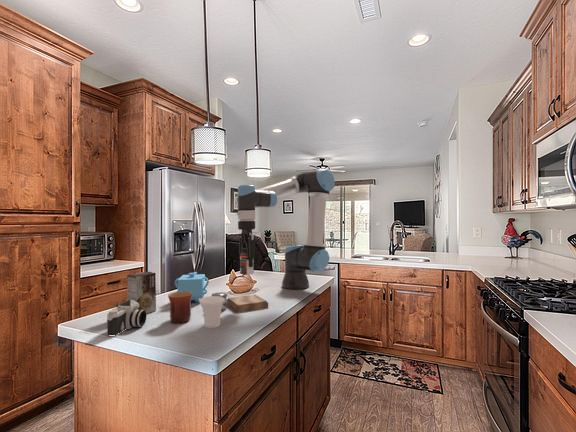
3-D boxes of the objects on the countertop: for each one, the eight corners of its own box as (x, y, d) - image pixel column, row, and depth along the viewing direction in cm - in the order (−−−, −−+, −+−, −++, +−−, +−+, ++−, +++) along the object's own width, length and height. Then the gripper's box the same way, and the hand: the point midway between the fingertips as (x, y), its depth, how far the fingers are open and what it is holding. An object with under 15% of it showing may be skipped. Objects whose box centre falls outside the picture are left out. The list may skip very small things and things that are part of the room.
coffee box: (146, 308, 134) (146, 271, 134) (156, 310, 131) (156, 272, 131) (126, 314, 126) (126, 274, 126) (136, 317, 123) (136, 276, 123)
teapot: (207, 303, 142) (207, 274, 142) (171, 304, 140) (171, 275, 140) (211, 293, 160) (211, 268, 160) (179, 294, 158) (179, 269, 158)
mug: (193, 323, 115) (193, 295, 115) (168, 326, 112) (168, 298, 112) (190, 314, 126) (190, 288, 126) (167, 316, 123) (167, 290, 123)
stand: (255, 300, 146) (255, 294, 146) (268, 308, 134) (268, 301, 134) (226, 304, 140) (226, 297, 140) (237, 313, 127) (237, 305, 127)
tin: (224, 306, 136) (224, 291, 136) (229, 310, 131) (229, 295, 131) (209, 309, 133) (209, 293, 133) (214, 313, 128) (213, 296, 128)
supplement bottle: (239, 275, 134) (238, 248, 134) (240, 272, 140) (240, 247, 140) (253, 275, 134) (252, 248, 134) (254, 272, 140) (254, 247, 140)
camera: (128, 338, 102) (127, 307, 102) (102, 337, 102) (102, 307, 102) (151, 321, 118) (151, 295, 118) (129, 321, 118) (129, 295, 118)
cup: (202, 321, 117) (202, 295, 117) (227, 322, 117) (227, 295, 117) (194, 330, 108) (194, 301, 108) (221, 330, 108) (221, 301, 108)
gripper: (231, 220, 143) (231, 270, 143) (246, 220, 127) (247, 277, 127) (246, 220, 147) (247, 269, 147) (263, 220, 130) (263, 276, 130)
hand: (247, 273), depth 137 cm, fingers closed on supplement bottle, 6 cm apart
